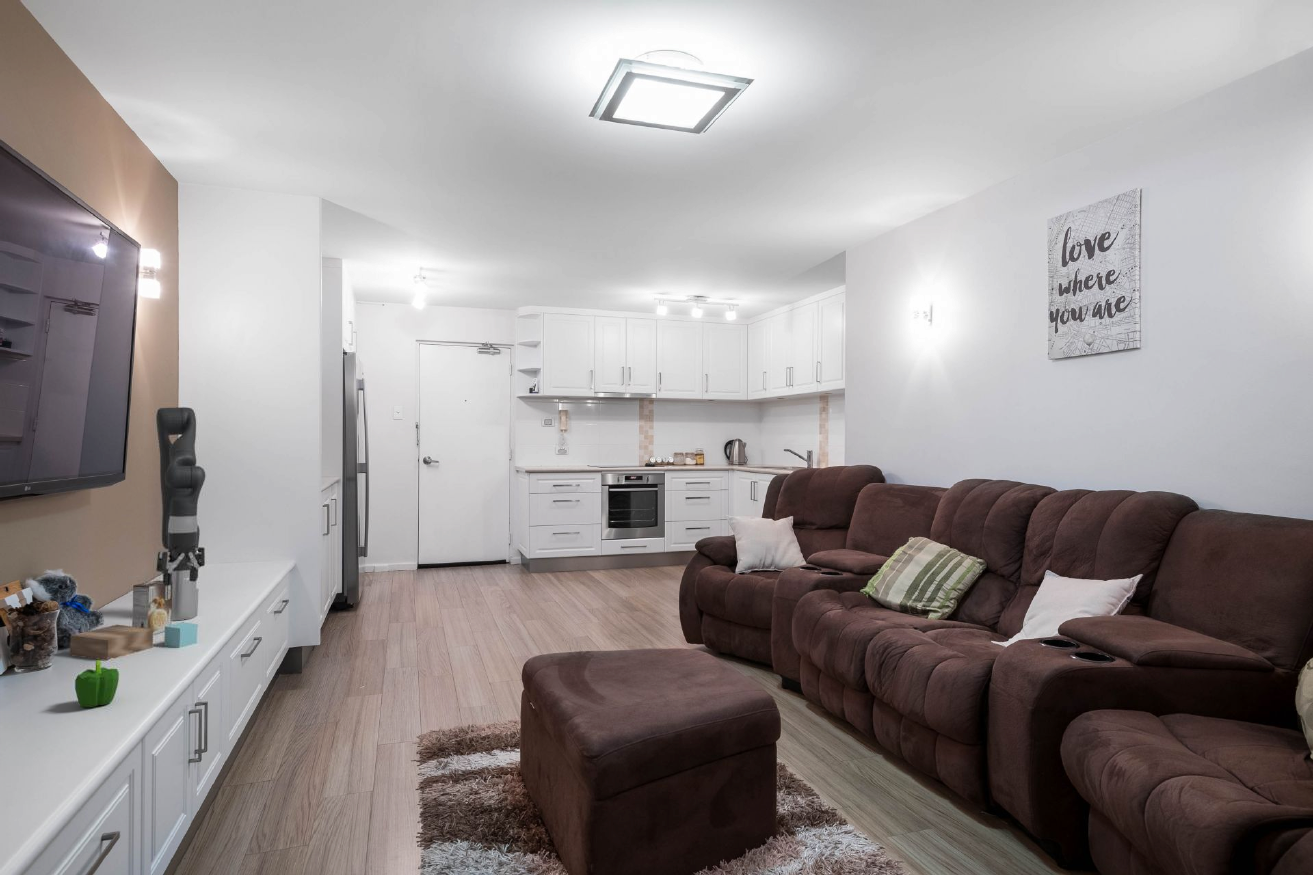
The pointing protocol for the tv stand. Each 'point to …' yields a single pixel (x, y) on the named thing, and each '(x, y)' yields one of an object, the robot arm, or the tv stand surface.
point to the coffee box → (152, 606)
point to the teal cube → (180, 634)
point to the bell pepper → (96, 686)
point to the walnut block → (111, 642)
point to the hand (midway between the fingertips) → (180, 583)
